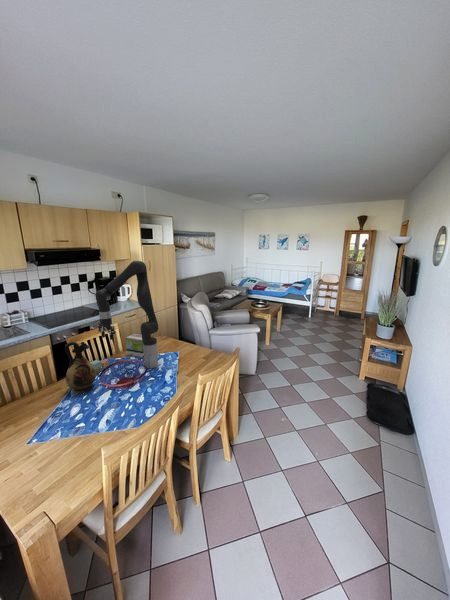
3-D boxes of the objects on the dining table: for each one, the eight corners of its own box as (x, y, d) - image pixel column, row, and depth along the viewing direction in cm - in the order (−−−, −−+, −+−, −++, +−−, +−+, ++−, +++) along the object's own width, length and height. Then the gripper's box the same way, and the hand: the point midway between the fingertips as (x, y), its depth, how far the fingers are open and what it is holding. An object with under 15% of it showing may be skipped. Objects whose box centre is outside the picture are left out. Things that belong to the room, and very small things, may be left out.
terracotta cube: (109, 366, 174) (108, 360, 173) (104, 369, 169) (103, 363, 168) (103, 365, 175) (103, 359, 174) (99, 368, 170) (98, 362, 169)
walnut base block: (102, 373, 164) (101, 367, 163) (93, 375, 161) (92, 370, 160) (99, 369, 168) (99, 364, 167) (91, 372, 165) (90, 367, 164)
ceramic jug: (98, 379, 156) (93, 335, 149) (95, 392, 142) (89, 345, 135) (67, 384, 150) (61, 339, 143) (61, 399, 136) (53, 349, 129)
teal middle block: (101, 366, 164) (101, 361, 163) (94, 370, 160) (93, 364, 159) (97, 364, 167) (96, 359, 166) (90, 367, 163) (89, 362, 162)
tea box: (126, 355, 191) (124, 337, 188) (134, 350, 200) (133, 333, 197) (142, 357, 187) (141, 339, 183) (150, 352, 196) (149, 335, 193)
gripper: (116, 317, 171) (118, 338, 175) (103, 314, 178) (105, 335, 181) (107, 320, 165) (109, 342, 169) (93, 316, 171) (96, 338, 175)
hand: (107, 338), depth 175 cm, fingers open, 8 cm apart
